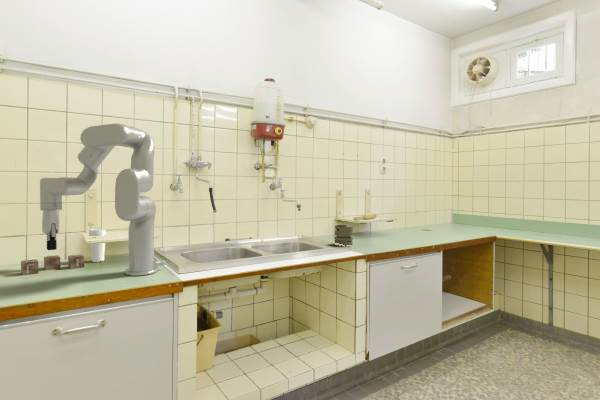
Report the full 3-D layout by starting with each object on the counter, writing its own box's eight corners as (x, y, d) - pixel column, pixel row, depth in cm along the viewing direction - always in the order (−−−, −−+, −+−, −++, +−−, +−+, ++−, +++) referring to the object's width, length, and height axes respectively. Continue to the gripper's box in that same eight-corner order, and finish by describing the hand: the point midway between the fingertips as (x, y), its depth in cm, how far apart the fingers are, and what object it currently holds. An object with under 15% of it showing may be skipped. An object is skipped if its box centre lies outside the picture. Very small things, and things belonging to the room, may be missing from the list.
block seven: (36, 271, 143) (36, 259, 142) (38, 273, 139) (38, 261, 139) (21, 273, 139) (21, 260, 139) (22, 275, 136) (22, 262, 135)
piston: (343, 227, 208) (330, 225, 217) (342, 247, 209) (330, 244, 218) (356, 226, 215) (344, 224, 224) (356, 245, 215) (343, 242, 224)
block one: (81, 265, 154) (81, 254, 153) (84, 267, 150) (84, 255, 150) (68, 267, 150) (68, 255, 150) (70, 269, 147) (70, 257, 146)
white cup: (86, 262, 159) (85, 230, 158) (94, 259, 165) (94, 228, 165) (101, 262, 159) (101, 230, 158) (108, 259, 166) (108, 228, 165)
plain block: (58, 266, 151) (58, 255, 151) (60, 268, 147) (60, 257, 147) (44, 268, 148) (44, 256, 147) (46, 270, 144) (45, 258, 144)
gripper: (37, 206, 149) (38, 248, 150) (43, 208, 138) (43, 253, 139) (58, 205, 154) (59, 246, 155) (65, 207, 144) (65, 251, 144)
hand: (51, 249), depth 147 cm, fingers closed
